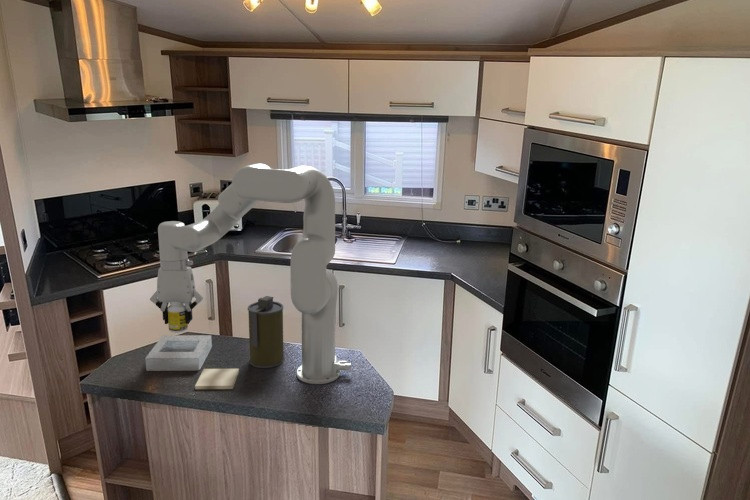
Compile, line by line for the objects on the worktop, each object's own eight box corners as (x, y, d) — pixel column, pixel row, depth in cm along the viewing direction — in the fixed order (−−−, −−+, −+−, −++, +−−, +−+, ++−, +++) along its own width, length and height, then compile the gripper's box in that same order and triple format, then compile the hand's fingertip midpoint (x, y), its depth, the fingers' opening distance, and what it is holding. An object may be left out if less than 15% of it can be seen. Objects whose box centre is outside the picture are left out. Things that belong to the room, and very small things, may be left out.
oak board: (239, 371, 156) (239, 368, 156) (232, 388, 147) (232, 385, 146) (203, 371, 156) (203, 368, 155) (195, 389, 146) (195, 386, 146)
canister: (263, 350, 170) (261, 290, 165) (290, 357, 166) (290, 296, 161) (241, 364, 161) (238, 301, 156) (270, 372, 157) (268, 307, 152)
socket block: (211, 346, 172) (211, 335, 171) (199, 370, 156) (198, 357, 155) (163, 347, 171) (162, 335, 170) (146, 370, 155) (145, 358, 154)
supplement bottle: (181, 334, 158) (179, 302, 156) (165, 332, 159) (162, 300, 157) (191, 327, 163) (189, 296, 161) (175, 325, 164) (173, 295, 162)
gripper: (207, 261, 160) (210, 317, 165) (148, 260, 159) (152, 317, 164) (201, 268, 153) (204, 327, 158) (139, 267, 152) (144, 327, 156)
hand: (178, 321), depth 161 cm, fingers closed on supplement bottle, 5 cm apart
